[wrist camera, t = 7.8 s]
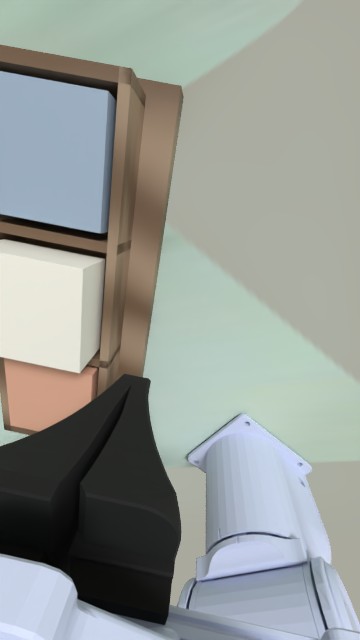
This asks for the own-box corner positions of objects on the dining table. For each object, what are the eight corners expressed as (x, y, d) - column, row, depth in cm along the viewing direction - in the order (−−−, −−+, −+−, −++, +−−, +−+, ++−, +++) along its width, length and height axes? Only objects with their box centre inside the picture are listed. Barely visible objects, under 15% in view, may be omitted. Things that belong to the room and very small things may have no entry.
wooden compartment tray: (136, 421, 26) (122, 460, 22) (18, 396, 26) (-17, 430, 22) (183, 96, 16) (174, 56, 12) (-8, 61, 16) (-82, 10, 12)
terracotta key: (103, 413, 24) (88, 442, 21) (34, 399, 24) (10, 425, 21) (108, 352, 21) (92, 375, 18) (31, 337, 22) (3, 357, 19)
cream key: (99, 348, 19) (79, 373, 16) (12, 330, 19) (-23, 351, 16) (105, 258, 16) (83, 269, 13) (5, 239, 16) (-39, 244, 14)
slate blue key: (118, 230, 18) (100, 233, 15) (25, 212, 18) (-11, 211, 15) (127, 114, 15) (108, 90, 12) (20, 94, 15) (-25, 66, 12)
